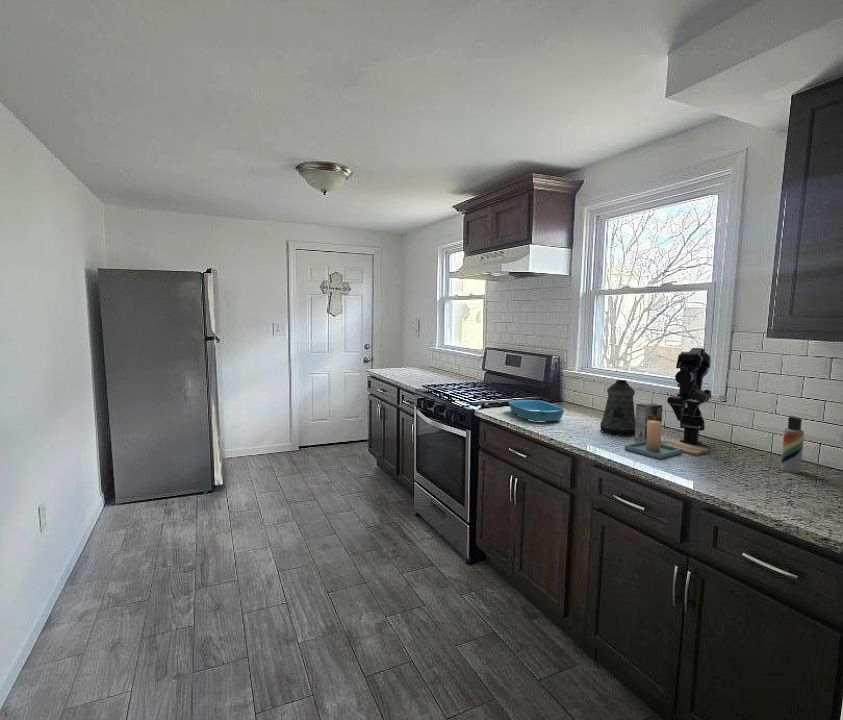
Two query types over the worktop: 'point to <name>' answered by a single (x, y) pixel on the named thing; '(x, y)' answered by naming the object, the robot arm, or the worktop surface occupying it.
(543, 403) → the casserole dish
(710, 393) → the robot arm
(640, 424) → the coffee box
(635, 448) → the tray
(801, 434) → the lotion bottle
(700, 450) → the tan board
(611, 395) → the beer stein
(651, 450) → the tan glossy round part
